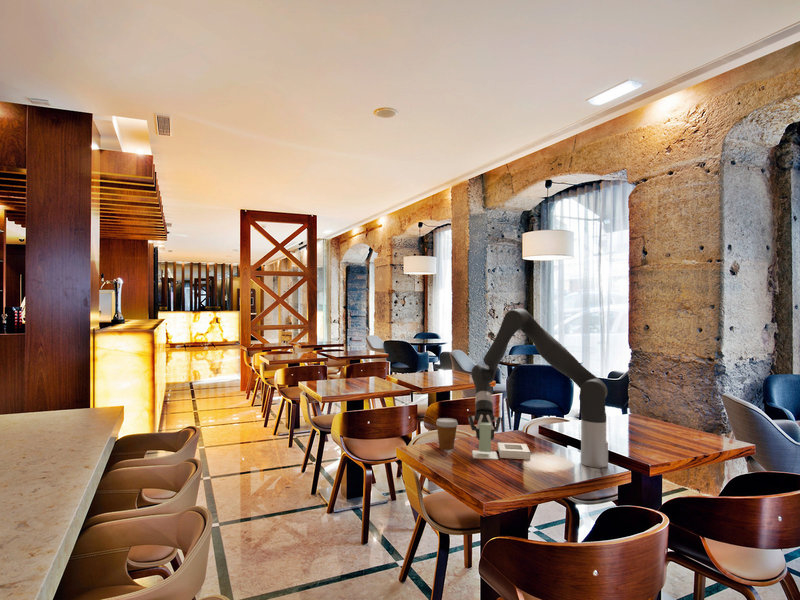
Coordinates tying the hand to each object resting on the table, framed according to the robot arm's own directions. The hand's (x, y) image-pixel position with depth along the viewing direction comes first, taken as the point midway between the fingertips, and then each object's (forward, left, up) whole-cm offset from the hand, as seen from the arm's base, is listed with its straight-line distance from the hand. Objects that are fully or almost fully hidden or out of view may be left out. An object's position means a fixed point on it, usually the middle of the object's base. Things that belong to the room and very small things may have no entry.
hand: (485, 438), depth 190 cm
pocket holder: (-12, -6, -7) cm, 15 cm away
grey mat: (0, -2, -7) cm, 7 cm away
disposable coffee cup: (+16, -10, -7) cm, 20 cm away
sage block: (0, -2, -5) cm, 5 cm away
